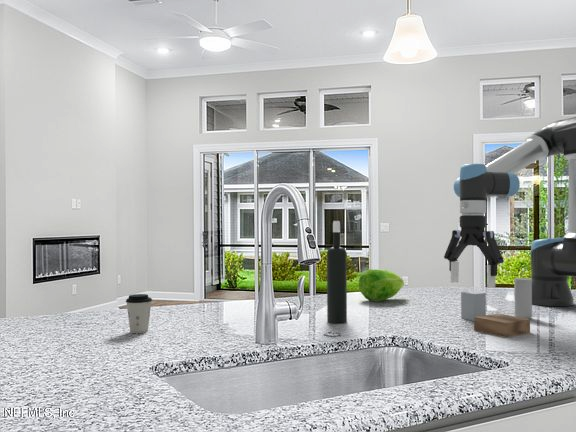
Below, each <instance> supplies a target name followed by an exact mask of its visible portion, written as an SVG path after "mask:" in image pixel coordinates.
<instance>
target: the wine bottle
mask: <svg viewBox="0 0 576 432" xmlns="http://www.w3.org/2000/svg"><path fill="white" fill-rule="evenodd" d="M332 235H333V236H332V237H333V242H332V243H333V244H332V245H333V246H332V247H329V248H328V249H327V252H326V286H327V287H326V295H327V296H326V310H327V311H326V312H327V313H326V318H327V319H326V320H327V321H326V322H327V323H330V324H335V325H340V324H346V323H347V322H348V315H347V314H348V313H347V312H348V309H347V308H348V302H347V301H348V300H347V299H348V296H347V294H348V291H347V289H348V285H347V282H348V281H347V275H348V274H347V267H348V266H347V250H346V249H345V248H344V247H341V222H340V220H333V222H332Z"/></svg>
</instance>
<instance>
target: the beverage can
mask: <svg viewBox="0 0 576 432" xmlns="http://www.w3.org/2000/svg"><path fill="white" fill-rule="evenodd" d="M513 283H514V286H513V287H514V289H513V291H514V292H513V293H514V297H513V298H514V316H515V317H521V318H527V319H530V320H531V318H532V317H533V304H532V281H531V277H530V278H529V277H515V278H514V282H513Z"/></svg>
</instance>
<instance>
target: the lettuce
mask: <svg viewBox="0 0 576 432" xmlns="http://www.w3.org/2000/svg"><path fill="white" fill-rule="evenodd" d="M404 286H405V282H404V279H403V278H401V276H399V275H398V274H396V273H395V272H393V271H391V270H387V269H371V268H369V269H366V270H364V271H363V272H362V273H361V275H360V277H359V279H358V288H359V289H358V290H359V291H360V293H361V294H362V296H363V297H364V298H365V299H366V300H368V301H371V302H376V303H378V302H383V301H385V300H387V299H388V300H389V299H391V298H393V297H394V296H396V295H397V294H398V292H400V290H402V288H403V287H404Z"/></svg>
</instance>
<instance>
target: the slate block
mask: <svg viewBox="0 0 576 432" xmlns="http://www.w3.org/2000/svg"><path fill="white" fill-rule="evenodd" d="M486 298H487V294H486V292H481V291H477V290H476V291H474V290H470V291H461V292H460V302H461V303H460V308H461V310H460V311H461V312H460V315H461V316H460V317H461V319H462V320H467V321H472V322H474V317H477V316H484V315H487V309H486V308H487V299H486Z"/></svg>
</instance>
